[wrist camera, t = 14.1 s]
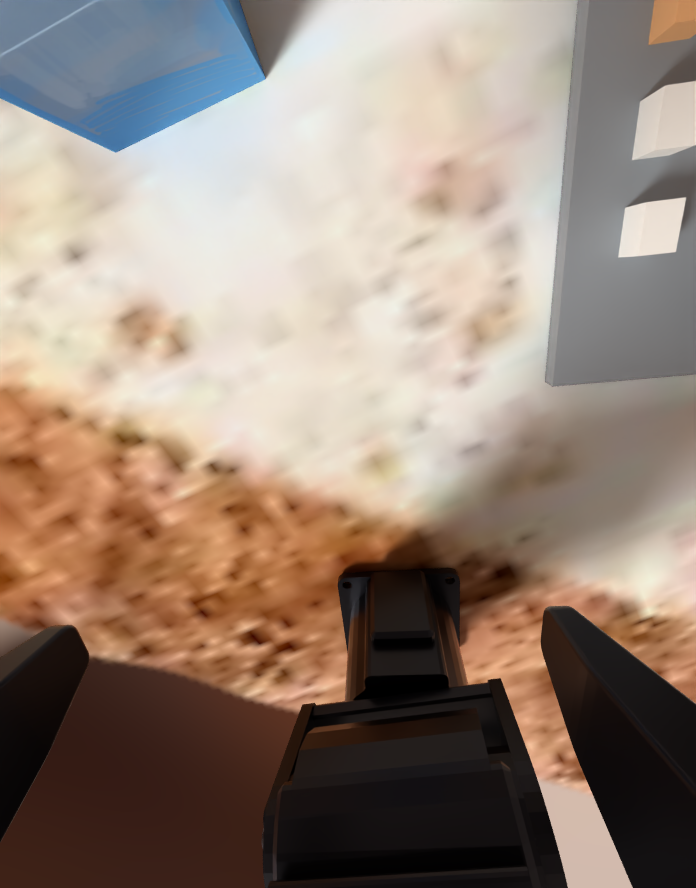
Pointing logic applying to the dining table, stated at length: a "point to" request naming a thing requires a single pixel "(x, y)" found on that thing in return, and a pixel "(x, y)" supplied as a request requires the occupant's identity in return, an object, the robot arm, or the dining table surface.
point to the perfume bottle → (123, 62)
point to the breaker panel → (627, 198)
